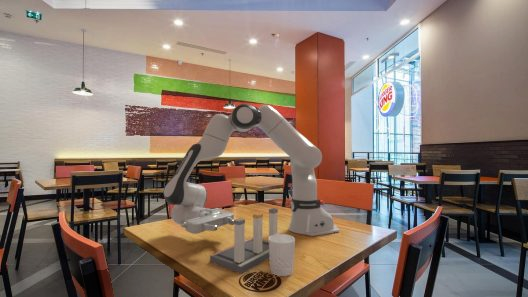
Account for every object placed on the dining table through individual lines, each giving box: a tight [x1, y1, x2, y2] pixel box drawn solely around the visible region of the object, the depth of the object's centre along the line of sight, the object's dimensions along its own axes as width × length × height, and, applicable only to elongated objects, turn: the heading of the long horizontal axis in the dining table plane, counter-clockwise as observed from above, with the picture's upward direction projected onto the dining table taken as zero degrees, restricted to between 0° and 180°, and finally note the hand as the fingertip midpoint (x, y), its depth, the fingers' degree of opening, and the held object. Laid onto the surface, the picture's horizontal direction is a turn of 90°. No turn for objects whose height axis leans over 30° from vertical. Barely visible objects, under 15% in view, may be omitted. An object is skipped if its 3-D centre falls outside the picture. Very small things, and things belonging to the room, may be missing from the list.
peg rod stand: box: [209, 207, 279, 275], centre depth 89 cm, size 14×22×15 cm, turn 143°
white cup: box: [268, 233, 296, 277], centre depth 78 cm, size 8×8×10 cm
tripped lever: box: [252, 212, 264, 254], centre depth 87 cm, size 2×3×13 cm
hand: (225, 225), depth 96 cm, fingers open, 8 cm apart
